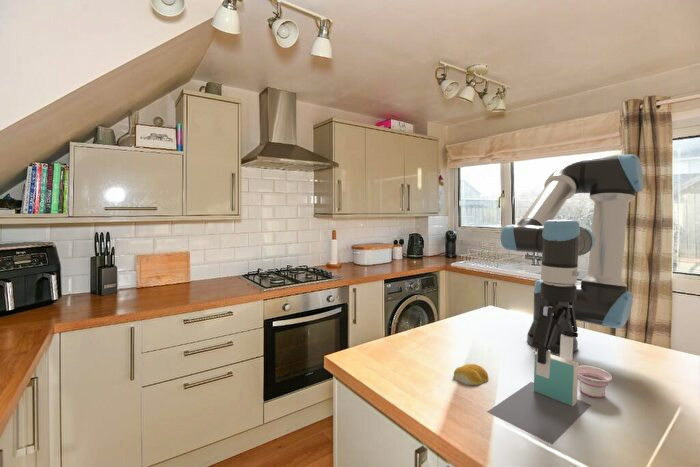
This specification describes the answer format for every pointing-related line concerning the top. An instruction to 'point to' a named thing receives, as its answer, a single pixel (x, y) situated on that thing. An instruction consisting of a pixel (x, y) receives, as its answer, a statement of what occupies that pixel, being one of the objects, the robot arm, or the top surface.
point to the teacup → (593, 380)
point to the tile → (559, 380)
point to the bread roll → (471, 374)
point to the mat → (538, 413)
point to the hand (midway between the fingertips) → (554, 368)
